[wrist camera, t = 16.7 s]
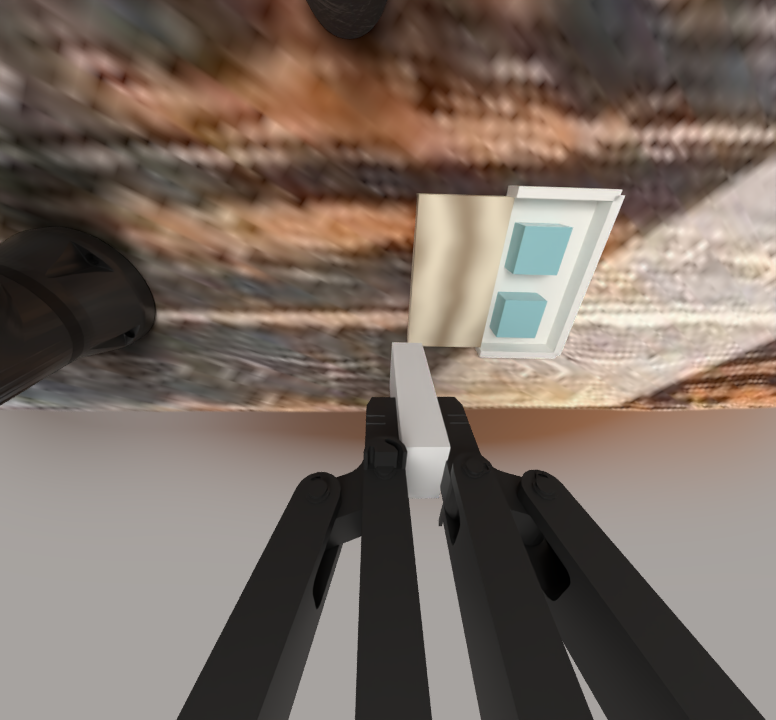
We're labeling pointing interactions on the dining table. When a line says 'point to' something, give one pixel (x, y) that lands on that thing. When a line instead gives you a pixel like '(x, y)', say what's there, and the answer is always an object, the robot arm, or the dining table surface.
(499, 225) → the board
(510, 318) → the tile
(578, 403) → the dining table surface
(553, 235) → the tile
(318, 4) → the travel mug
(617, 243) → the dining table surface
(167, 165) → the dining table surface
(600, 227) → the tray
